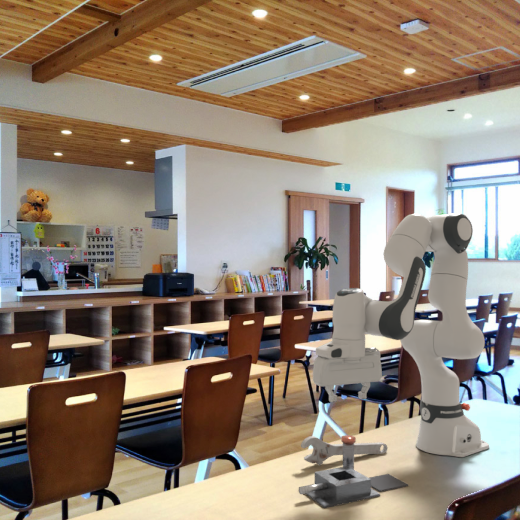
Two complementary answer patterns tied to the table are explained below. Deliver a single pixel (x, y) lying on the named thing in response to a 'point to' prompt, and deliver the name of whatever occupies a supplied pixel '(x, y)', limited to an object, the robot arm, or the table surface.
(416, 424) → the table surface
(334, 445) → the wrench
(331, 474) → the grey square socket base
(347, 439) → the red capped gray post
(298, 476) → the table surface
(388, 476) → the mat
